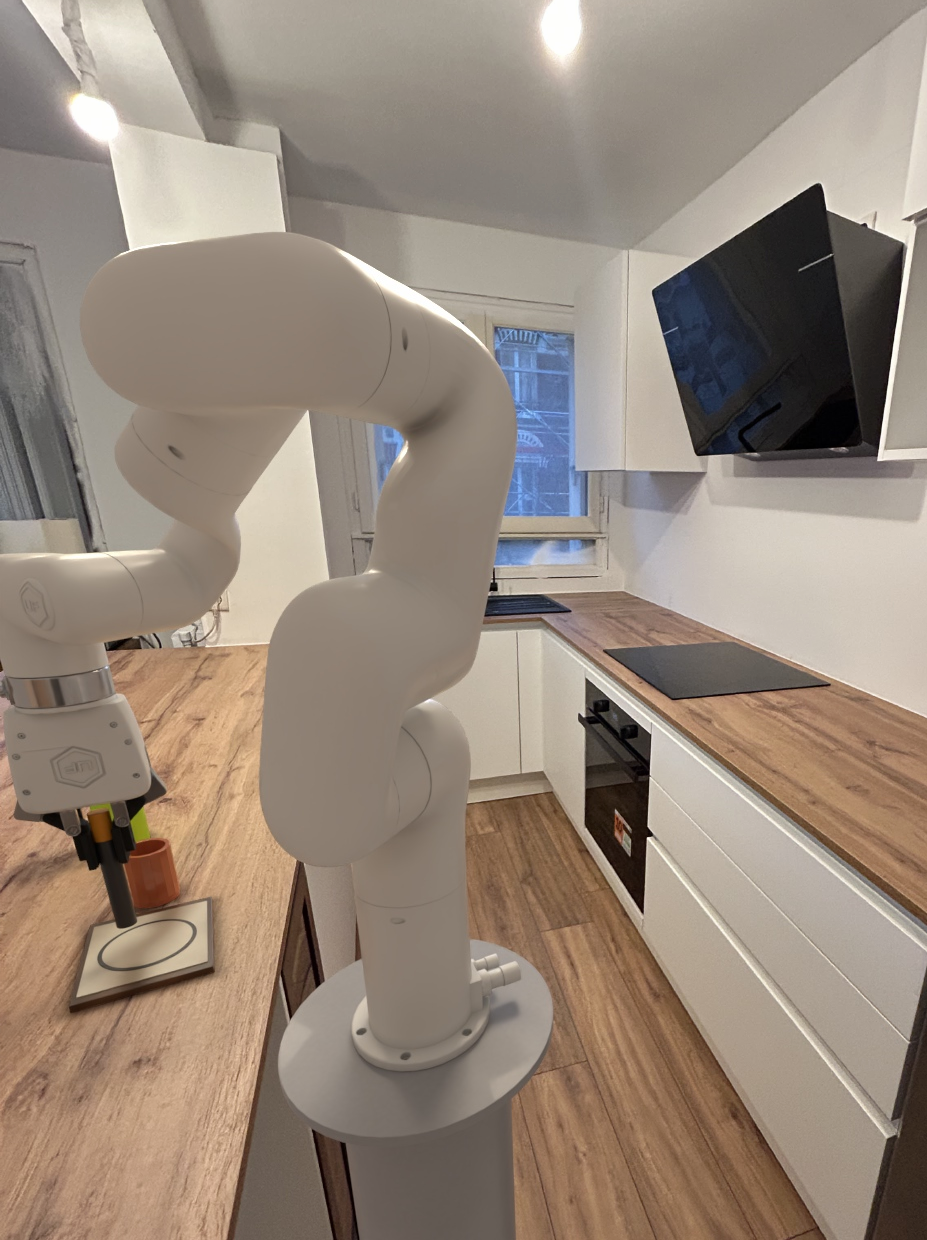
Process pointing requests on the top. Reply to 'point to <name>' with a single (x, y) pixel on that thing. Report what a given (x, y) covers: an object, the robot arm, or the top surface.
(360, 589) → the robot arm
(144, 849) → the pen pot
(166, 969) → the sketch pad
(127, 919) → the marker
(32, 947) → the top surface
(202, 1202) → the top surface
